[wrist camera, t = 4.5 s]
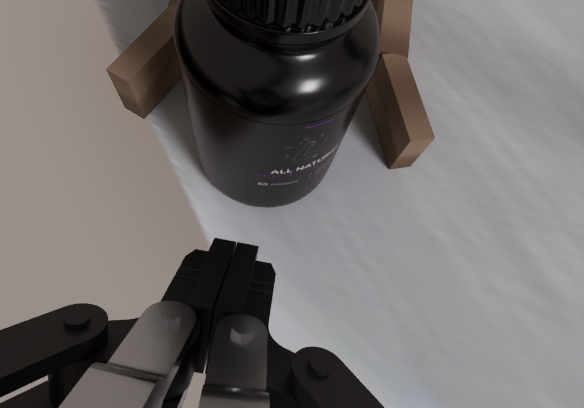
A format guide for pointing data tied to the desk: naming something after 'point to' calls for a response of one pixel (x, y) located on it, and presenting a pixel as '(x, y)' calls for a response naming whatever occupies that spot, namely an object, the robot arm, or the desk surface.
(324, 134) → the supplement bottle
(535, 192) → the desk surface
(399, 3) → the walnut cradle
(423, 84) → the desk surface
